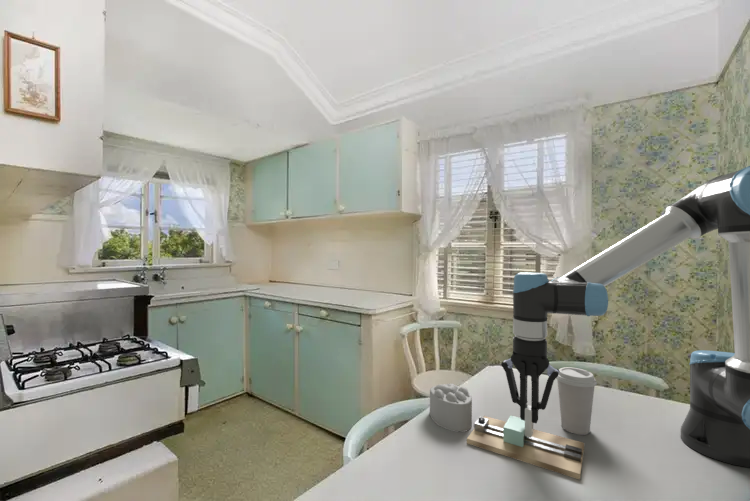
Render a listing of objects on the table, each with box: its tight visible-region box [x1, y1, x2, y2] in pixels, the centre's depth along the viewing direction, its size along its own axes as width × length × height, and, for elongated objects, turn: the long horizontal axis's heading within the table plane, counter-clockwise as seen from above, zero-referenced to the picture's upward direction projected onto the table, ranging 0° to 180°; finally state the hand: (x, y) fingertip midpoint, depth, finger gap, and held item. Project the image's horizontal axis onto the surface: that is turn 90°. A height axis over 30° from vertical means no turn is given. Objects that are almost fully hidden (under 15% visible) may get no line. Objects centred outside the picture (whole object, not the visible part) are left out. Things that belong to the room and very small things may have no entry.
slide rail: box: [473, 416, 582, 462], centre depth 84 cm, size 24×4×2 cm, turn 56°
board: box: [466, 415, 585, 480], centre depth 84 cm, size 24×14×1 cm, turn 56°
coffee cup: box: [555, 366, 598, 436], centre depth 93 cm, size 10×10×15 cm
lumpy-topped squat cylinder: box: [429, 383, 473, 432], centre depth 97 cm, size 10×13×9 cm
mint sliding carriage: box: [503, 415, 525, 447], centre depth 85 cm, size 4×7×4 cm, turn 146°
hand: (529, 434), depth 84 cm, fingers closed
